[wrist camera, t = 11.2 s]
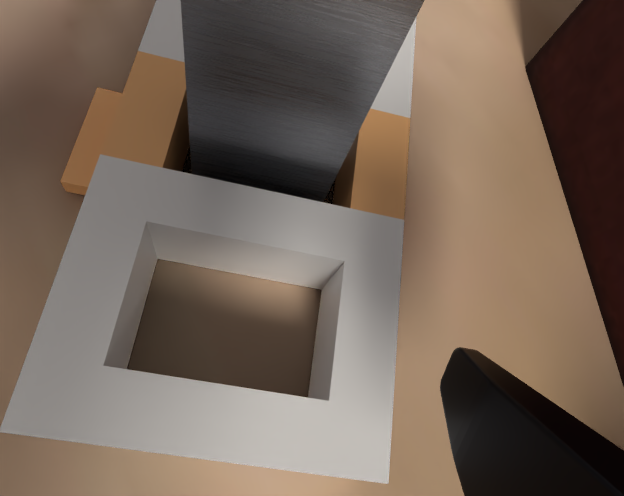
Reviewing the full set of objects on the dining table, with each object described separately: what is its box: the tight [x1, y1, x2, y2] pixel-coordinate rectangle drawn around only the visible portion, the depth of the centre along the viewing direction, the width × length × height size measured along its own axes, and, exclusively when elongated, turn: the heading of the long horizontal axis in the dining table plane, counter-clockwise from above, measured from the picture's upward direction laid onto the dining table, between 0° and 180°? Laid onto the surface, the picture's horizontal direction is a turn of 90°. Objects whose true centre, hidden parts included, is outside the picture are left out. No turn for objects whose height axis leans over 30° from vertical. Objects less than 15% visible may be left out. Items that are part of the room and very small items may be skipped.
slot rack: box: [0, 0, 416, 484], centre depth 18 cm, size 22×12×4 cm, turn 172°
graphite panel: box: [181, 0, 424, 202], centre depth 14 cm, size 3×5×13 cm, turn 83°
